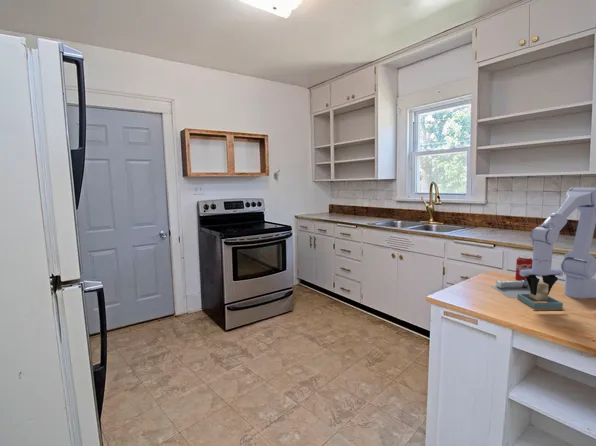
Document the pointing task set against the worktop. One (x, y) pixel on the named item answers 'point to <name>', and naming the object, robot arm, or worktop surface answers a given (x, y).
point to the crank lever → (512, 284)
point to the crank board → (512, 291)
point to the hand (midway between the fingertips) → (539, 294)
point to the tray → (551, 305)
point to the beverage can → (523, 266)
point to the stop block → (541, 291)
